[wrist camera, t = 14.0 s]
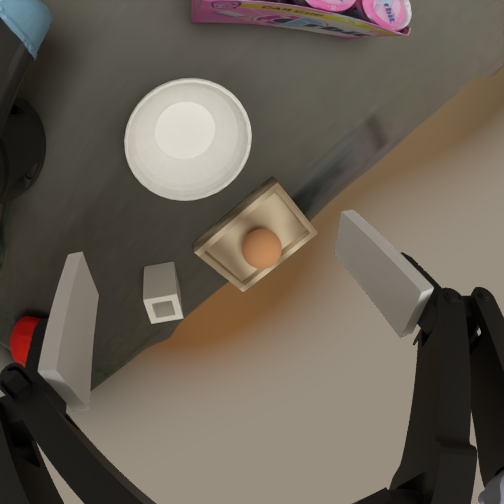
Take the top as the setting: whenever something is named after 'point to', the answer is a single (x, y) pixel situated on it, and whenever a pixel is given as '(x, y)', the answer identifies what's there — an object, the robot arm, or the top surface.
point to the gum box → (311, 15)
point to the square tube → (162, 293)
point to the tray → (247, 220)
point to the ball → (261, 248)
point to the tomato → (22, 338)
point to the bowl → (187, 139)
